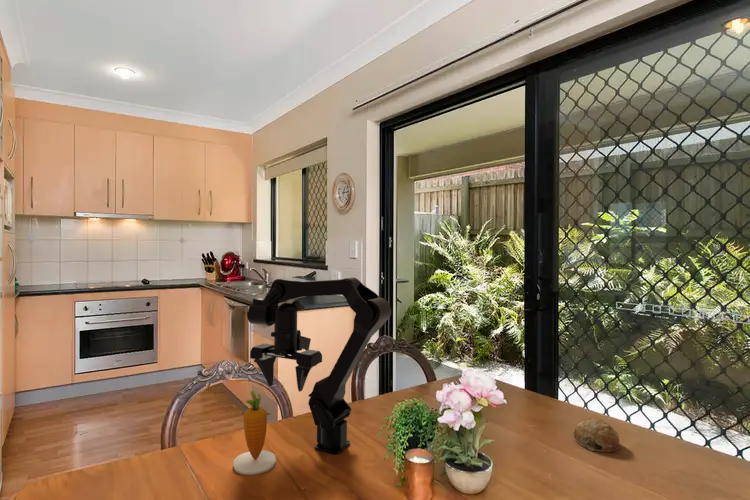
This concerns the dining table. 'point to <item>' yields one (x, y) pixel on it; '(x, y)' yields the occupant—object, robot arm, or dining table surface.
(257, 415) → the carrot
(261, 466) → the smooth white pebble
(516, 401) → the dining table surface
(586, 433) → the bread roll
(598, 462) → the dining table surface
